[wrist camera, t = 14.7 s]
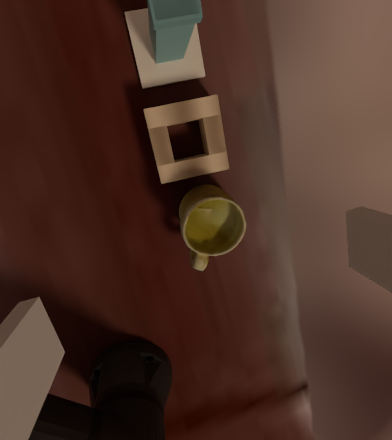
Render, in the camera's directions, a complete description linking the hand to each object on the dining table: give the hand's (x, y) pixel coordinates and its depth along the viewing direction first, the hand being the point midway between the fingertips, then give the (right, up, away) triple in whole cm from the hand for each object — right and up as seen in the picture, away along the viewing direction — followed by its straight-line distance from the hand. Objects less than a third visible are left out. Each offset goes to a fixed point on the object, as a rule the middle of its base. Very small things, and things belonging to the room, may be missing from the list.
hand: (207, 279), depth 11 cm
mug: (0, +3, +33) cm, 34 cm away
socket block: (-2, +15, +29) cm, 33 cm away
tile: (-4, +26, +25) cm, 37 cm away
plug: (-4, +26, +25) cm, 36 cm away
